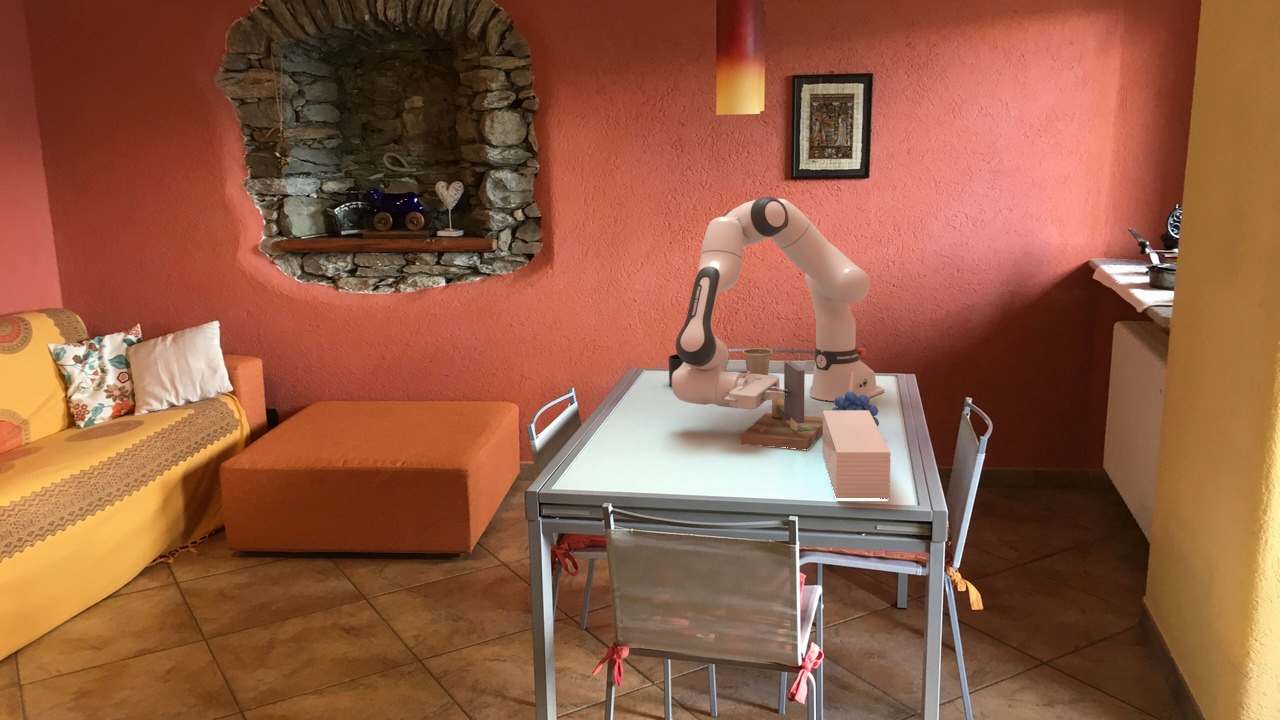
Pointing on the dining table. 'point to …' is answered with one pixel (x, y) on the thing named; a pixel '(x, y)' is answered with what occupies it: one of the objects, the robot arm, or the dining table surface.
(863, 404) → the grapes
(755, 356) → the flower pot
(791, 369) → the paddle
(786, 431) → the wooden cutting board
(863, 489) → the stack of papers
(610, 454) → the dining table surface
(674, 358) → the mug
